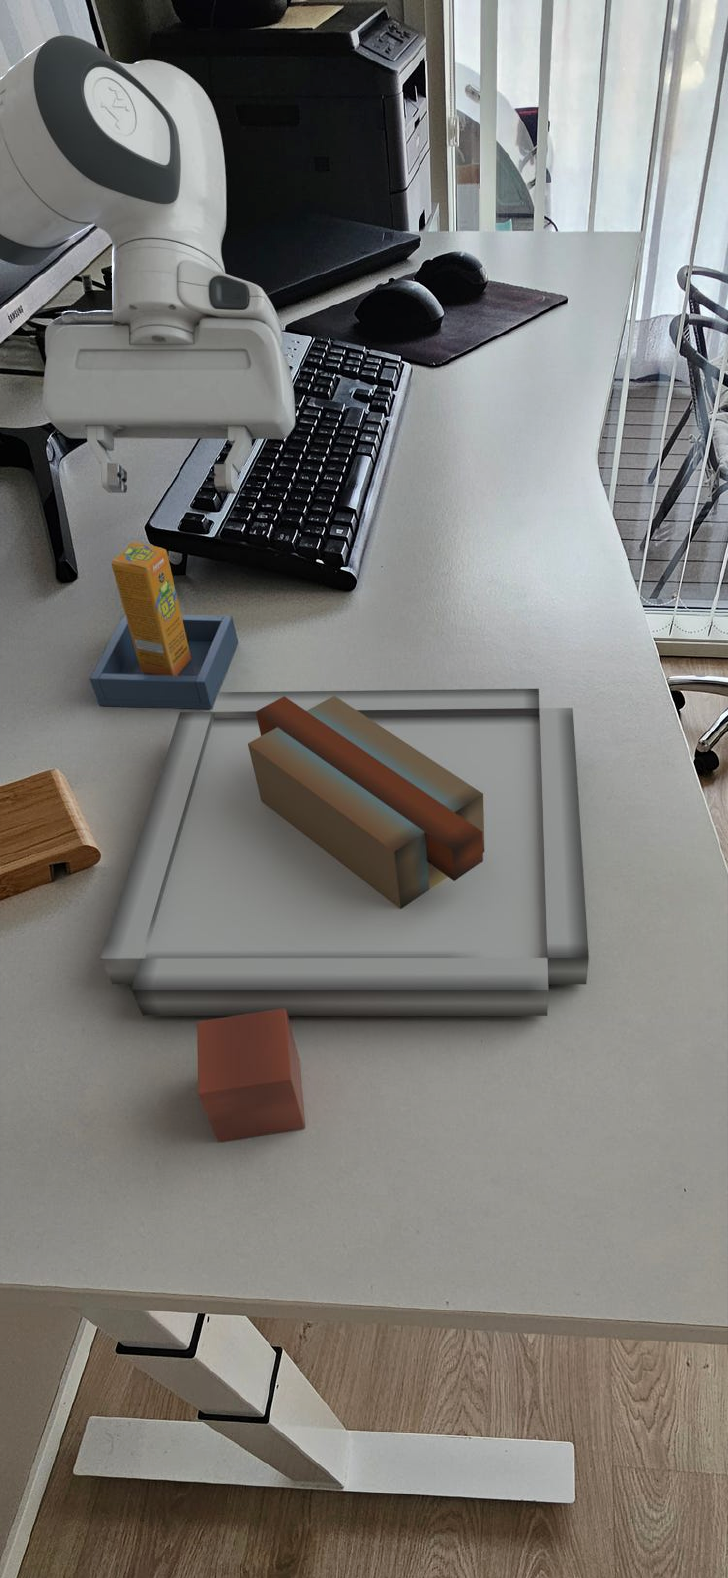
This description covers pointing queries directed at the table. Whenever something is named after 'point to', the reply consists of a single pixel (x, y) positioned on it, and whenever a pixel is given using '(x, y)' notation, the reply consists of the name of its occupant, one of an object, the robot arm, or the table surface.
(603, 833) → the table surface
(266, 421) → the robot arm
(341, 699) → the grey square tray
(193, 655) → the blue tray
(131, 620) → the supplement box
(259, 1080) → the rust block
